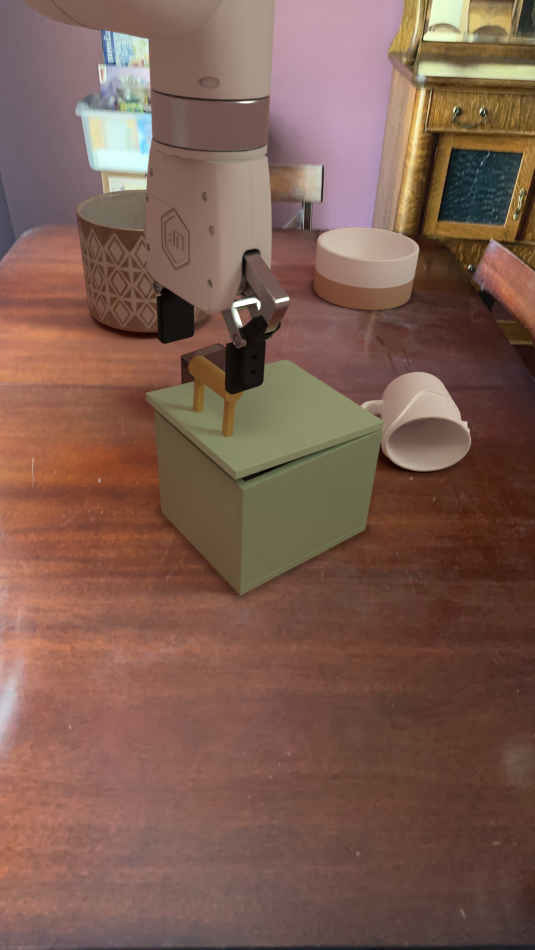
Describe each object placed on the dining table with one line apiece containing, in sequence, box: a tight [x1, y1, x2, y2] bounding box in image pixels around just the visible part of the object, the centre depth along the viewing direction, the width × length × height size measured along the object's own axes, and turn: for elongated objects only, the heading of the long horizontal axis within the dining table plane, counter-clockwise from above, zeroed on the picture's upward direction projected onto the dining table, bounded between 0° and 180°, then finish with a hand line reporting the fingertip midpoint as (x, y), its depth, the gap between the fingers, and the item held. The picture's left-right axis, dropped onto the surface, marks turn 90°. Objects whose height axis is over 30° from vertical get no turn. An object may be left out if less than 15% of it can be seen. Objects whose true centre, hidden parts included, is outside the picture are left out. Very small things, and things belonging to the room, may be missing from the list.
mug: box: [360, 371, 472, 472], centre depth 78 cm, size 12×9×8 cm
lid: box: [145, 356, 384, 480], centre depth 59 cm, size 16×14×6 cm
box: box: [179, 342, 226, 384], centre depth 83 cm, size 6×6×7 cm
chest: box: [153, 409, 383, 596], centre depth 65 cm, size 16×14×12 cm
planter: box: [75, 189, 209, 334], centre depth 102 cm, size 19×19×16 cm
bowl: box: [313, 226, 420, 311], centre depth 116 cm, size 17×17×8 cm
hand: (208, 362), depth 54 cm, fingers open, 9 cm apart
